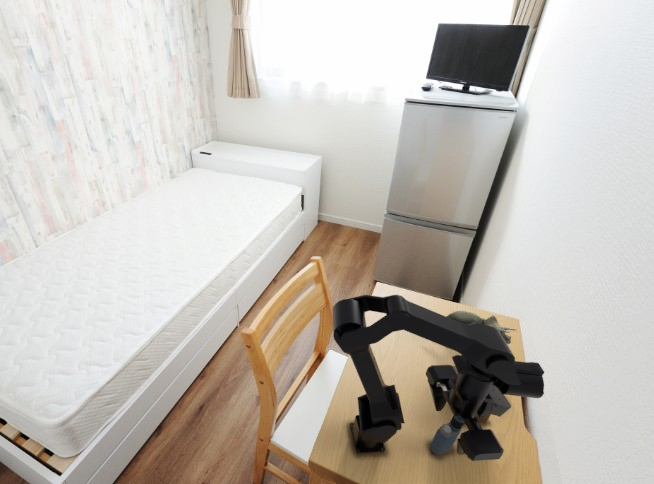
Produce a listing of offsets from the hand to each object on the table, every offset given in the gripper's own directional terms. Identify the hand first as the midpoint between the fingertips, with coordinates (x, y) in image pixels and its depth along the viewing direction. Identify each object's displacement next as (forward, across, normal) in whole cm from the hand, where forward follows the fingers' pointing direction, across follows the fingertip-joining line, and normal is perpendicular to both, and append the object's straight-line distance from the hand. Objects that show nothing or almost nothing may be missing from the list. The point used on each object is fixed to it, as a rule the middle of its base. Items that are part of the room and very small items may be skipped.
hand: (448, 431), depth 74 cm
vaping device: (+7, 0, 0) cm, 7 cm away
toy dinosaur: (+6, +31, -22) cm, 39 cm away
